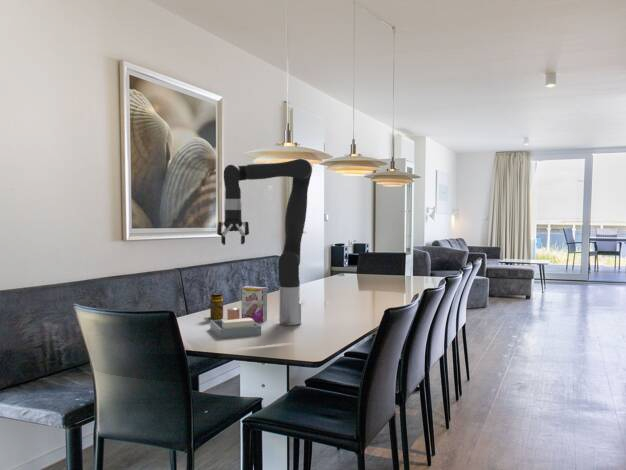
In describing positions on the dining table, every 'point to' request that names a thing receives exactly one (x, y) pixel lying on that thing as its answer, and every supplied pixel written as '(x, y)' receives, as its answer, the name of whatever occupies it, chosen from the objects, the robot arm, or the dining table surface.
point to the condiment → (216, 307)
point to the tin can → (232, 313)
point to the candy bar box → (254, 303)
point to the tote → (234, 330)
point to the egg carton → (237, 323)
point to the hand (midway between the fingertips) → (233, 244)
